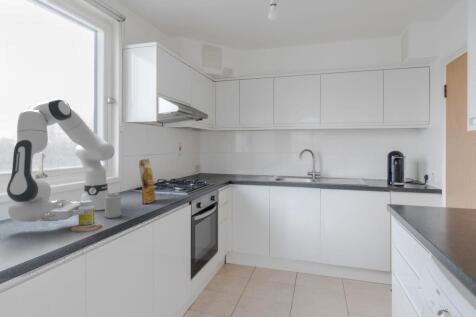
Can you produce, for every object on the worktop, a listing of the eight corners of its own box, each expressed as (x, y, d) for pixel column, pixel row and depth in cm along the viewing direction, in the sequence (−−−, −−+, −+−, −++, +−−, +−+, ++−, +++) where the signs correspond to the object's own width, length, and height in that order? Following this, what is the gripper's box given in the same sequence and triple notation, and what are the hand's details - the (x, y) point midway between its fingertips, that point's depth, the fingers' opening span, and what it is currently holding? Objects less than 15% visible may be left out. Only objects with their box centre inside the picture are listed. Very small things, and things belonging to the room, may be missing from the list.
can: (118, 218, 138) (118, 194, 138) (102, 219, 137) (102, 195, 137) (122, 214, 146) (122, 192, 145) (107, 215, 144) (106, 192, 144)
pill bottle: (87, 223, 126) (86, 199, 125) (98, 224, 124) (97, 200, 123) (75, 227, 120) (74, 202, 119) (86, 228, 118) (86, 202, 117)
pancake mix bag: (136, 205, 171) (135, 159, 170) (149, 199, 190) (148, 158, 189) (146, 205, 170) (145, 159, 169) (158, 199, 189) (158, 158, 188)
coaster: (77, 225, 127) (77, 223, 126) (105, 223, 129) (105, 221, 129) (66, 232, 115) (66, 231, 115) (97, 231, 117) (97, 229, 117)
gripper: (41, 208, 109) (79, 207, 111) (64, 199, 129) (96, 198, 131) (41, 224, 109) (79, 222, 111) (64, 212, 129) (96, 211, 132)
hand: (88, 209), depth 122 cm, fingers open, 8 cm apart
